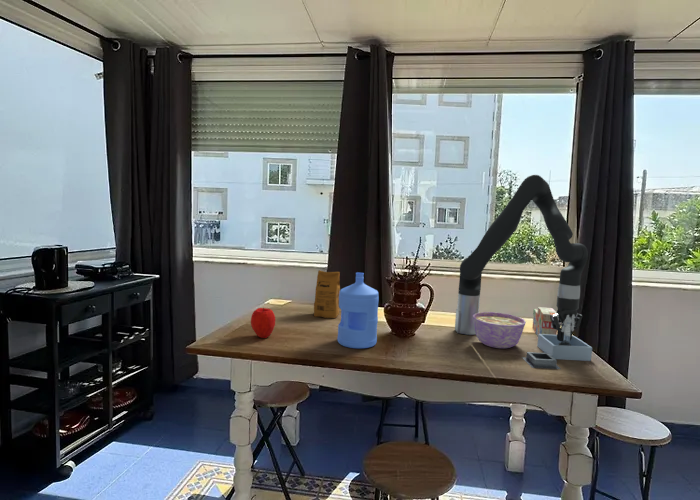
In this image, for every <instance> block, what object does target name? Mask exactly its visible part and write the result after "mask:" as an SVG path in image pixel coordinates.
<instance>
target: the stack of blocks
mask: <svg viewBox="0 0 700 500" xmlns="http://www.w3.org/2000/svg"><path fill="white" fill-rule="evenodd" d="M532 312H533V314H532V315H533V317H532V329H533V331H534V333H535V334H536V336H537V337H538V334H549V335H557V330H556V329H553V326H552V322H551V318H550V315H555V314H556V312H557V311H556V310H555V309H554V308H553V307H545V306H544V307H543V306H542V307H541V306H538V307H537V308H533V311H532Z"/></svg>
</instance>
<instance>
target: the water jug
mask: <svg viewBox="0 0 700 500" xmlns="http://www.w3.org/2000/svg"><path fill="white" fill-rule="evenodd" d="M364 274H365V273H364V272H358V271H357V272H355V282H354V283H352V284H350V285H348V286H345V287H343V288H340V293H339V302H338V304H339V310H341V311H340V312H341V313H340V322H339V323H338V325H337V342H338V344H340V345H341V346H343V347H345V348H350V349H360V350H361V349H368V348H372V347H374V346H376V344H377V342H378V341H377V340H378V336H377V334H378V323H379V317H378V311H379V291H378V290H377V289H375V288H373V287H371V286H369V285H367V284H366V283H365V282H364V279H365V278H364Z"/></svg>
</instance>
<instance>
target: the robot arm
mask: <svg viewBox="0 0 700 500" xmlns="http://www.w3.org/2000/svg"><path fill="white" fill-rule="evenodd" d="M531 201H532V202H533V203H534V204H535V206H536V207H538V209H539V211H540V213H541V214H542V217H543V220H544V223H545V226H546V229H547V230H548V232H549V233H550V235H551V238H552V239H553V243H554V249H555V253H556V255H557V257H558V259H559V260H561V261H562V262H564V263H568V264H567V266H566V267H564V268H561V269H560V272H559V273H560V274H559V284H558V287H557V296H556V297H557V298H556V308H557V311H556V314H555V315H550V318H551V322H552V326H553V329H556V330H557V339H558V340H559V341H563V338H564V332H563V331H564V328H565V326H566V325H567V320H568V319H569V316H570V317H571V318H572V323H571V331H570V341H571V339H572V336H573V332H574V331H575V330H578V328H579V326H580V324H581V322H582V319H583V318H584V315H583V314H580V313H578V310H579V309H580V307H579V306H580V298H581V281H582V280H581V279H582V274H583V272H584V269H585V266H586V264H587V260H588V257H589V255H588V254H589V252H588V248H587V247H586V245H585V244H582V243H573V242H570V240H571V239H572V238H573V236H574V235H573V234H574V233H573V231H572V229H571V227H570V226H569V224H568V222H567V220H566V218H565V217H564V215H563V214H562V213H561V211H560V209H559V208H558V205H557V204H556V202H555V199H554V195H553V194H552V189H551V188H550V185H549V183H548V182H547V180H545V179H544V178H543V177H542V176H541V175H539V174H531V175H528V176H527V177H526V178H524V179H523V181H522V182H521V183H520V184H519V187H518V188H517V190H516V192H515V193H514V194H513V195H512V197H511V199H510V200H509V202H508V203H507V204H506V206H505V207H504V208H503V210H501V212H500V213H499V215H498V216H497V217H496V218H495V219H494V221H493V222H492V223H491V225H490V226H489V227H488V229H487V230H486V232H485V233H484V235H482V238H481V240H480V242H479V243H478V245H477V246H476V248H475V249H474V250H473V251H472V252H471V254H470V255H469V256H467V257H466V258H464V259H463V260H462V261H461V263H460V265H459V282H458V291H457V293H458V295H457V306H456V309H455V319H454V331H455V332H456V333H457V334H461V335H468V336H472V335H476V332H475V326H474V320H473V315H474V314H476V313H480V301H481V299H480V298H481V287H482V273H483V271H484V269H486V266H487V264H488V263H489V261H490V260H491V259H492V257H493V256H494V255H495V254H496V253H497V252H498V251H499V250H500V249H501V248H502V247H503V246H504V245H505V244H506V243H507V242H508V240H510V238H511V237H512V236H513V234H515V232H516V230H517V228H518V227H519V224H520V222H521V218H522V215H523V213H524V210H525V209H526V208H527V206H529V204H530V203H531ZM561 322H563V323H561Z"/></svg>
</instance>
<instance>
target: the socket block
mask: <svg viewBox="0 0 700 500" xmlns="http://www.w3.org/2000/svg"><path fill="white" fill-rule="evenodd" d="M521 358H522V359H523V360H524V362H526V363H527V365H528V366H529V367H530V368H531V369H532V368H533V369H534V368H535V369H548V370H549V369H550V370H562V369H561V367H560V366H558V365H557V363H558V359H554V358H553V357H552V356H551V355H550V354H549V353H545V352H535V351H533V352H532V351H527V352H526V357H525V356H524V357H523V356H522V357H521Z"/></svg>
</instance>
